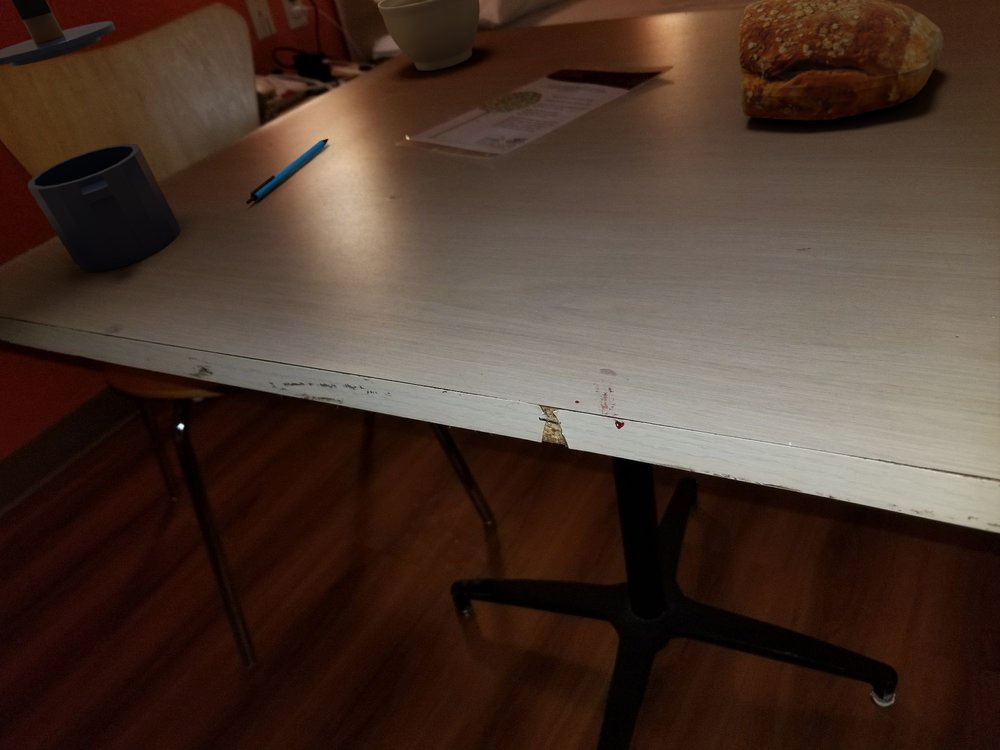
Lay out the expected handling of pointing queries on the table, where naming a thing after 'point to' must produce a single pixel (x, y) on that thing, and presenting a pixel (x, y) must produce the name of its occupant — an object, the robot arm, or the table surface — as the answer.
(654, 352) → the table surface
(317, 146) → the pen
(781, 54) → the bread
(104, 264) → the pot
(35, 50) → the lid
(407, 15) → the planter bowl
